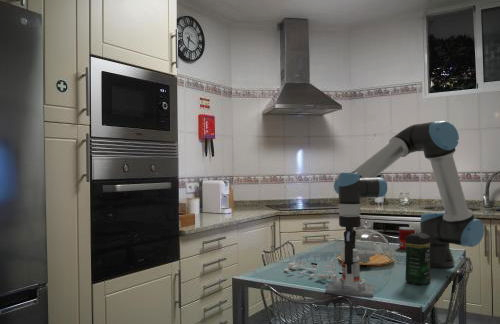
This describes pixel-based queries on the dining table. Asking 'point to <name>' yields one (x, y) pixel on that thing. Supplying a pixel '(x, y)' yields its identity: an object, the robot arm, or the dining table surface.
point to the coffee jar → (418, 258)
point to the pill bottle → (355, 264)
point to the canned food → (404, 235)
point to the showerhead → (365, 255)
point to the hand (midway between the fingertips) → (350, 279)
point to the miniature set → (321, 276)
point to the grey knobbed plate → (351, 288)
